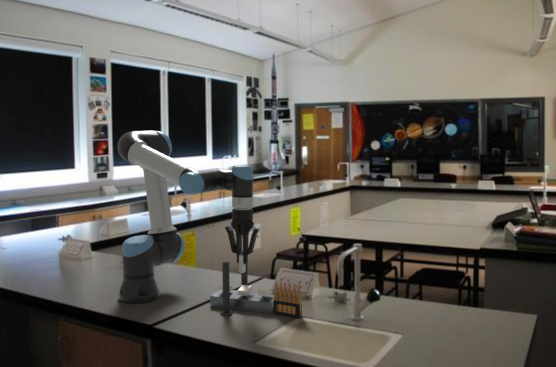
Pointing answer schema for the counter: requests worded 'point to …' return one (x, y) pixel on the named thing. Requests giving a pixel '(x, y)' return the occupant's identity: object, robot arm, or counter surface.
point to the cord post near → (226, 290)
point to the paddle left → (220, 287)
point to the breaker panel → (244, 301)
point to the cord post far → (244, 276)
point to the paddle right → (265, 292)
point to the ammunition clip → (287, 301)
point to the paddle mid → (244, 290)
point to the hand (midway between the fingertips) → (242, 272)
